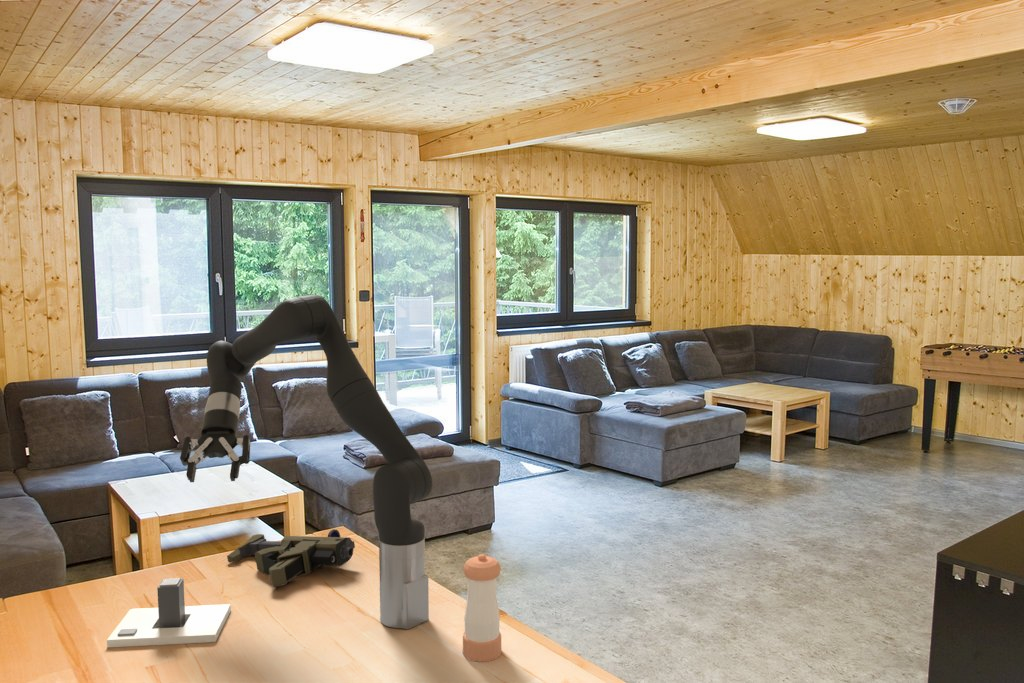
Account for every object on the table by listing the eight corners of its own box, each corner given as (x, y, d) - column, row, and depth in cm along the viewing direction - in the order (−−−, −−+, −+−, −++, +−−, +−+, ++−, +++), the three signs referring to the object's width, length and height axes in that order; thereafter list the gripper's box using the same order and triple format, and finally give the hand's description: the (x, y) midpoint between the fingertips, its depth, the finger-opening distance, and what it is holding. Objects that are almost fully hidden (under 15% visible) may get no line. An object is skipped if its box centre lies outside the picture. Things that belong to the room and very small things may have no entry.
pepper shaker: (476, 640, 164) (476, 545, 162) (508, 649, 160) (508, 552, 158) (455, 655, 158) (454, 557, 156) (488, 665, 154) (487, 564, 152)
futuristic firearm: (309, 568, 182) (369, 525, 205) (197, 563, 194) (265, 523, 217) (315, 600, 183) (374, 553, 206) (202, 593, 195) (270, 549, 218)
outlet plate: (230, 610, 177) (230, 602, 177) (215, 642, 163) (215, 632, 163) (131, 615, 174) (130, 606, 174) (107, 647, 161) (106, 638, 160)
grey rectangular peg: (185, 623, 171) (183, 577, 170) (180, 632, 167) (178, 584, 166) (164, 624, 170) (162, 578, 169) (159, 633, 166) (157, 586, 165)
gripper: (185, 408, 187) (173, 472, 177) (251, 406, 189) (243, 470, 179) (192, 426, 193) (181, 489, 183) (256, 425, 195) (248, 487, 185)
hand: (211, 480), depth 181 cm, fingers open, 8 cm apart
